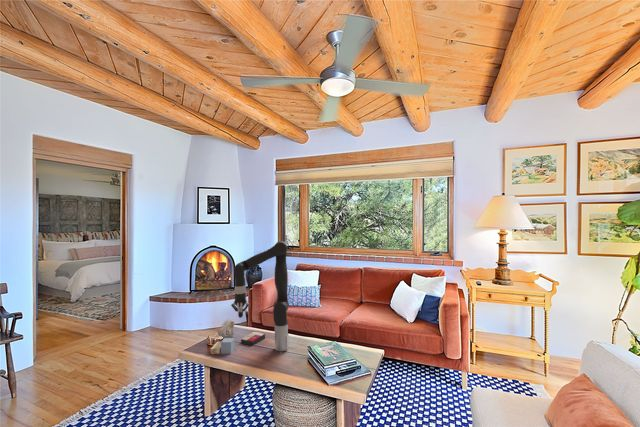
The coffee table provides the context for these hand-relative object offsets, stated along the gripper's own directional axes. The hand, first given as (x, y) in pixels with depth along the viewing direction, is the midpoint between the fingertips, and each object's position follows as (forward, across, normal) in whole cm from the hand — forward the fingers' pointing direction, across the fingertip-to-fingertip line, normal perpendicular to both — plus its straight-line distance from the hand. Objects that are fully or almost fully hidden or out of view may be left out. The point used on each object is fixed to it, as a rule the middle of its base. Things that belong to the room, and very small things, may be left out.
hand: (240, 317), depth 207 cm
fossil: (+24, +19, -22) cm, 37 cm away
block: (+24, +9, 0) cm, 25 cm away
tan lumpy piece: (+23, +17, -2) cm, 29 cm away
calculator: (+24, -3, -18) cm, 30 cm away
